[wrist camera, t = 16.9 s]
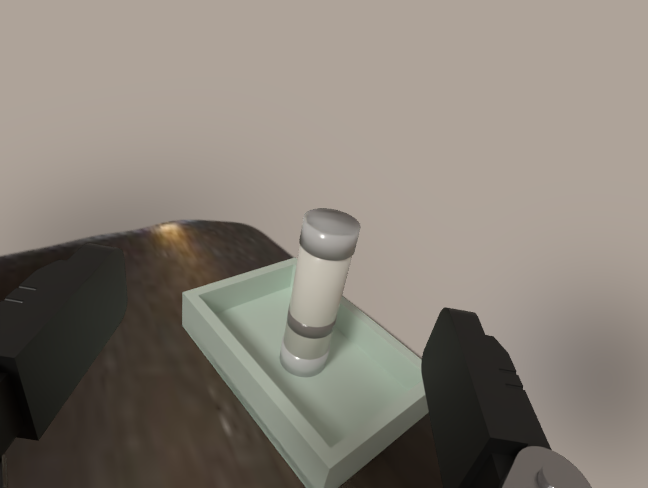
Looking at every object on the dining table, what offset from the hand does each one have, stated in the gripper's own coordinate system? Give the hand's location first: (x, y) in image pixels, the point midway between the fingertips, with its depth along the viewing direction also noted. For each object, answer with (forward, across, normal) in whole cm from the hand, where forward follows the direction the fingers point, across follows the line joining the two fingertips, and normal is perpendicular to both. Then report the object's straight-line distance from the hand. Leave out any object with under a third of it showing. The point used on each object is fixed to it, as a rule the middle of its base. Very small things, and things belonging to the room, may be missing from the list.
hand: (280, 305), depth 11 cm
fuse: (+18, -2, +21) cm, 28 cm away
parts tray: (+18, -2, +22) cm, 29 cm away
